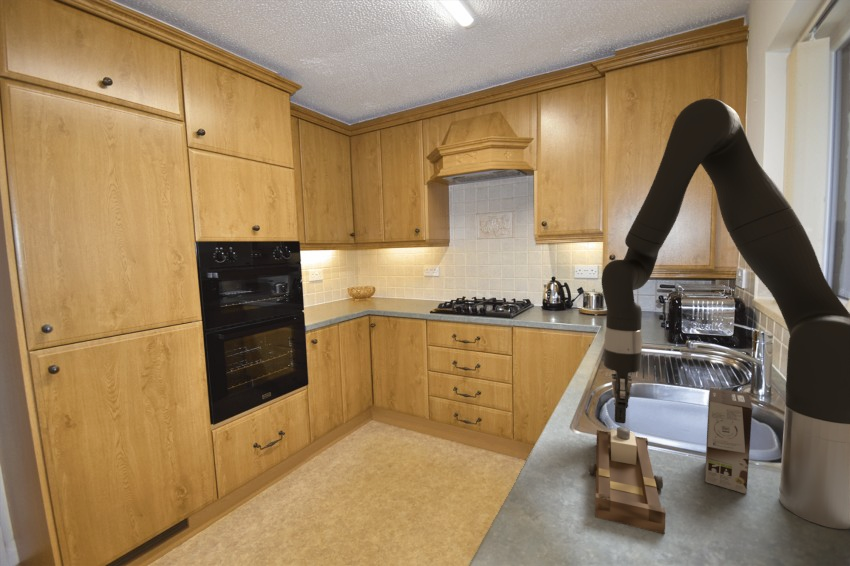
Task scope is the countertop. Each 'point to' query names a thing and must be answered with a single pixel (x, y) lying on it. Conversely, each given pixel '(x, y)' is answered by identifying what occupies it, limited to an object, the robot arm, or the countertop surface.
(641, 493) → the wooden slider track
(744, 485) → the coffee box
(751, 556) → the countertop surface
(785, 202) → the robot arm
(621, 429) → the rider
